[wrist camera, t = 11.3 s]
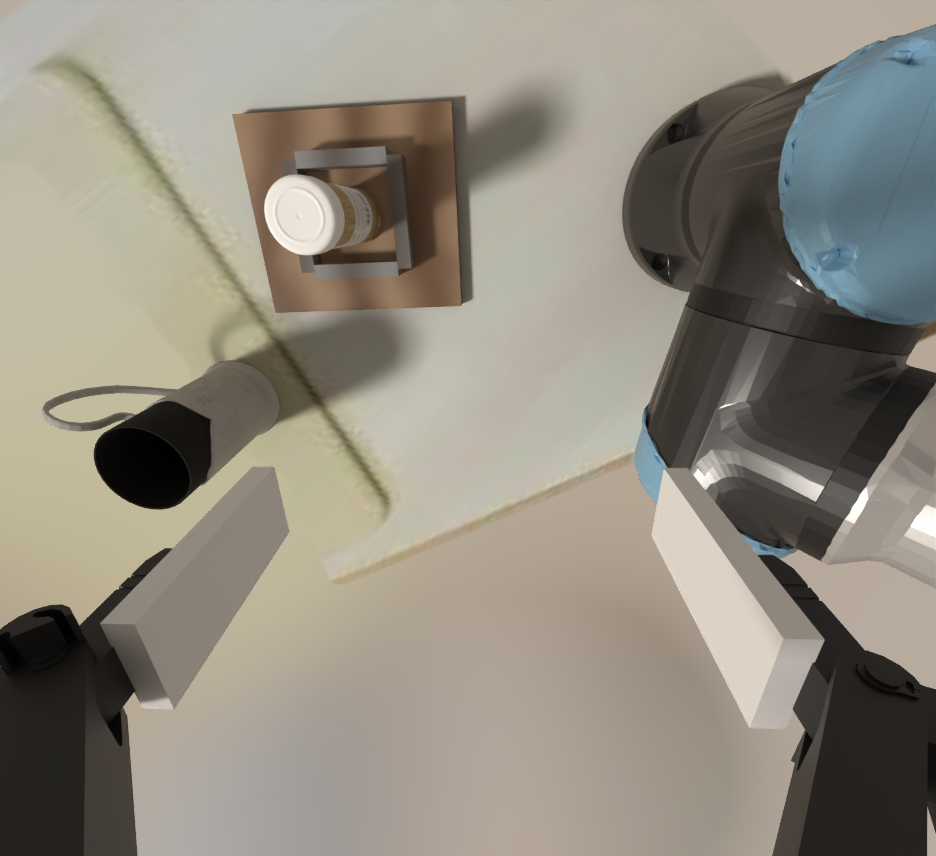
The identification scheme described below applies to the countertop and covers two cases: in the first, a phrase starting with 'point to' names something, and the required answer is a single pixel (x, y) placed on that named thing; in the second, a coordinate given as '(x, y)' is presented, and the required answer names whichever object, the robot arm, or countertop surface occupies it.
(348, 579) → the countertop surface
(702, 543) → the robot arm
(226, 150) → the countertop surface
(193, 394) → the grey mug
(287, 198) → the sprinkles bottle
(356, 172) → the socket board
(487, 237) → the countertop surface
